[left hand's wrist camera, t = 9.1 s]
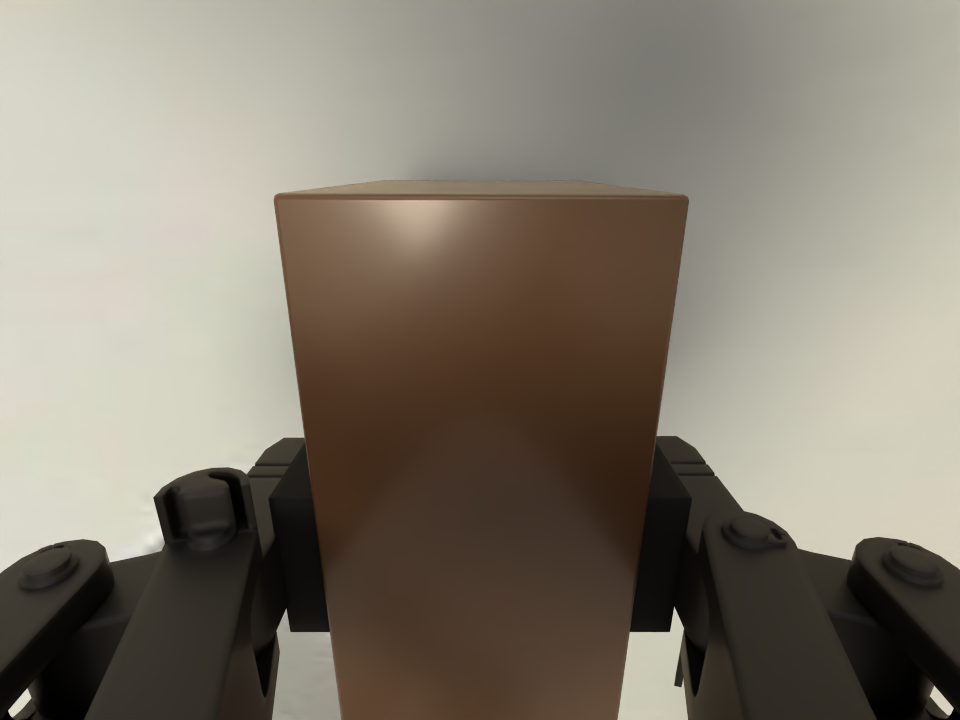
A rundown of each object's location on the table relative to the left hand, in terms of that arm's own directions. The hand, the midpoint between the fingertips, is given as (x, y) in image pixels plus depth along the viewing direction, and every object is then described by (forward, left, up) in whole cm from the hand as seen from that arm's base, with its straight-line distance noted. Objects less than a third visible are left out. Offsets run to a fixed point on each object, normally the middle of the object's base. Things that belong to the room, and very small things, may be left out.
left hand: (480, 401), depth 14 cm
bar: (+14, +16, -1) cm, 21 cm away
